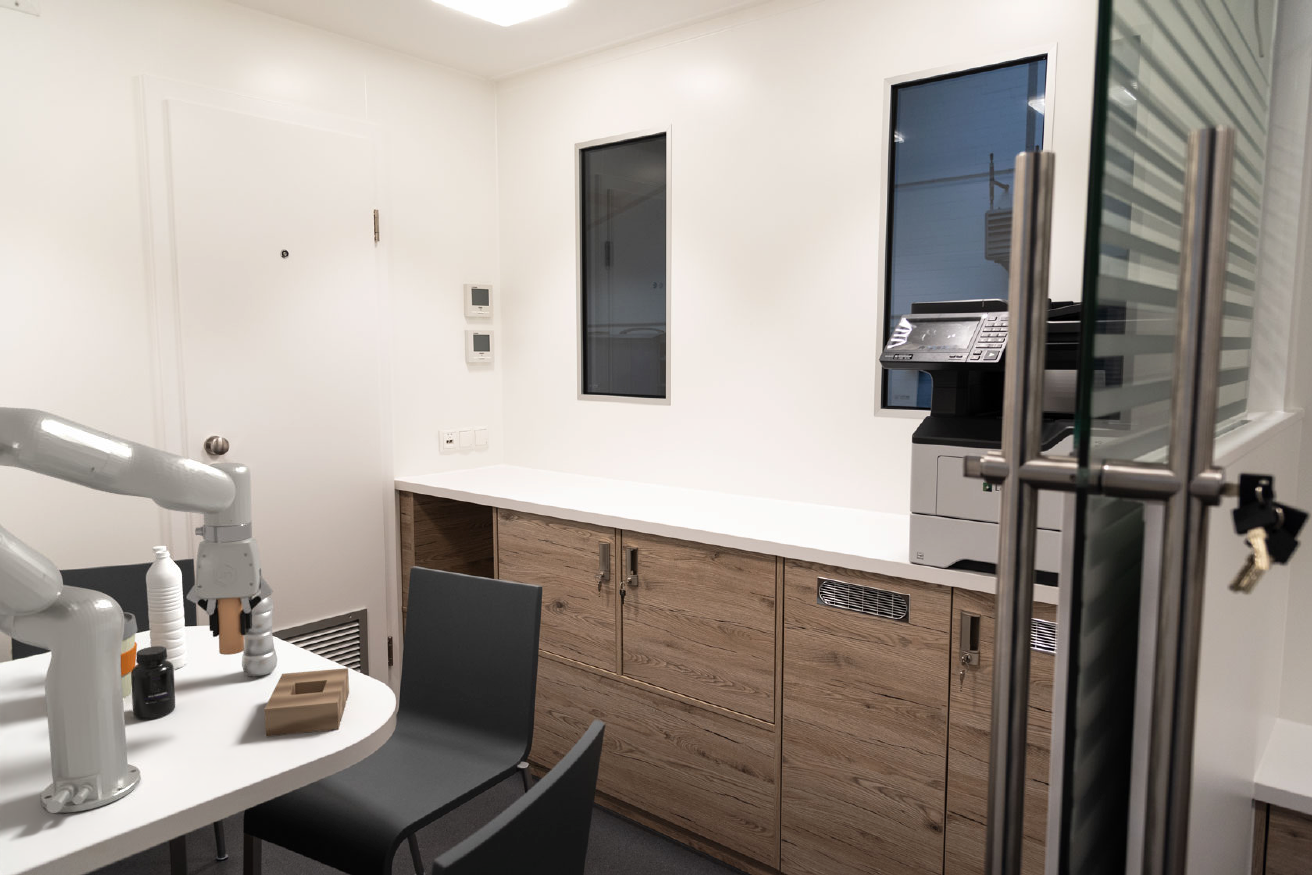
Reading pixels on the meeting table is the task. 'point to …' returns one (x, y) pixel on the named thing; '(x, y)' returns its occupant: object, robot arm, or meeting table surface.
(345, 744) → the meeting table surface
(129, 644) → the reusable coffee cup
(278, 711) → the socket block
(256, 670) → the plastic bottle
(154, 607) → the water bottle
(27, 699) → the meeting table surface
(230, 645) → the peg
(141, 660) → the supplement bottle
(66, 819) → the meeting table surface
